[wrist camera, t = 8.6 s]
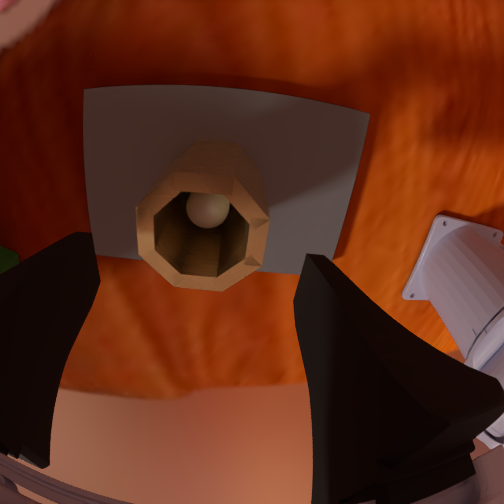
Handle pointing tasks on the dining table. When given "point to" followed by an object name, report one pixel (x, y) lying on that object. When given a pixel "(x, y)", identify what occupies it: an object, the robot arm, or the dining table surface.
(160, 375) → the dining table surface
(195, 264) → the wooden collar
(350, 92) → the dining table surface
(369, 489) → the robot arm
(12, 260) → the hardback book
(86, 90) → the pin board
